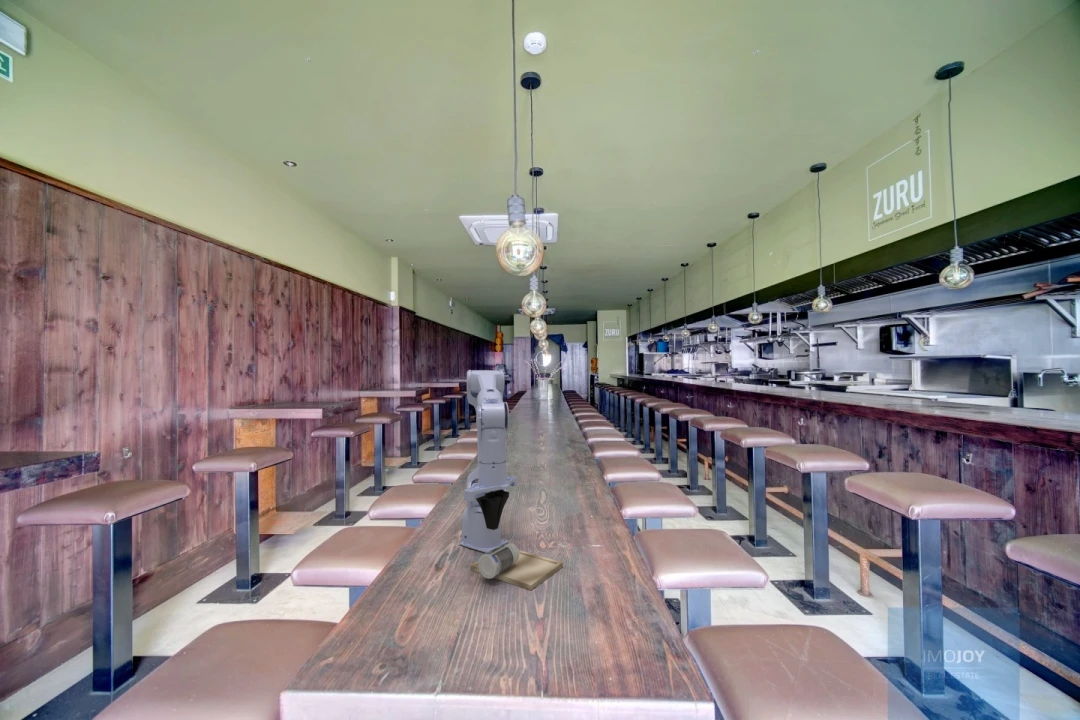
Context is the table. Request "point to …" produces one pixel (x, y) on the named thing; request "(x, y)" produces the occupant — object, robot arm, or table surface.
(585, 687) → the table surface
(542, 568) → the beech board
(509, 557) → the pill bottle
